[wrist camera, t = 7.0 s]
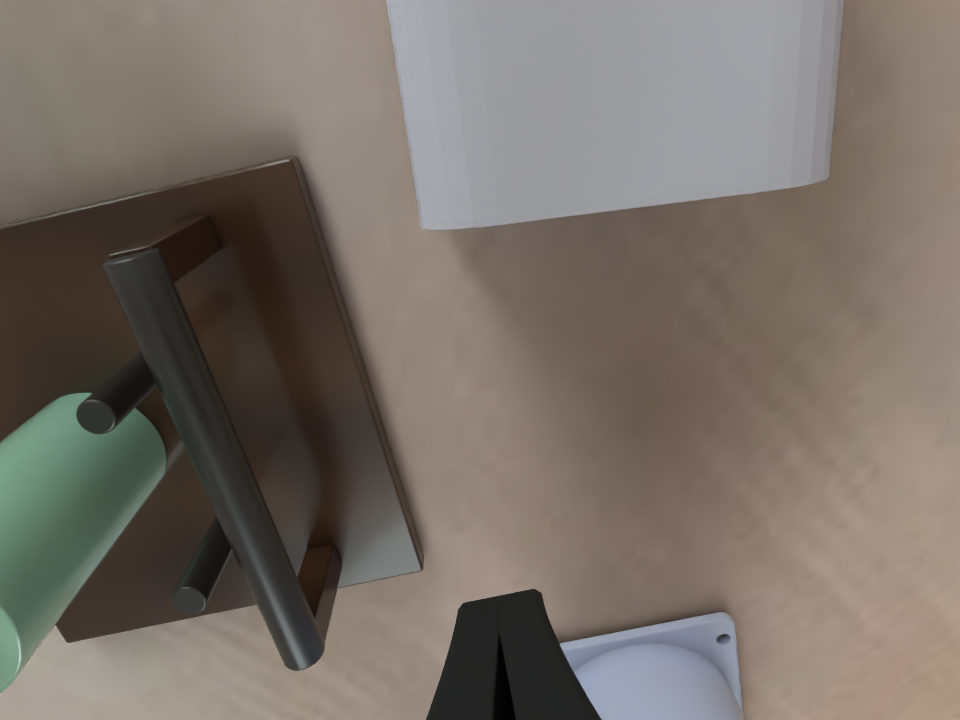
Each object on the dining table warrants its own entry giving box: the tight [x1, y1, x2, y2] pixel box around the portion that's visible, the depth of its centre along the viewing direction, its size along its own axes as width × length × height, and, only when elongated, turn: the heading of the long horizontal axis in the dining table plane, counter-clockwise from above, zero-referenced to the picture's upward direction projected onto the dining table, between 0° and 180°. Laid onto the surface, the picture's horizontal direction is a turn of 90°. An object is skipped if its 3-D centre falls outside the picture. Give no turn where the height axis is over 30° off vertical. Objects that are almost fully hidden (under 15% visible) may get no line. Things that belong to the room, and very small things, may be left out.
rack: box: [0, 156, 424, 671], centre depth 18 cm, size 14×13×5 cm
